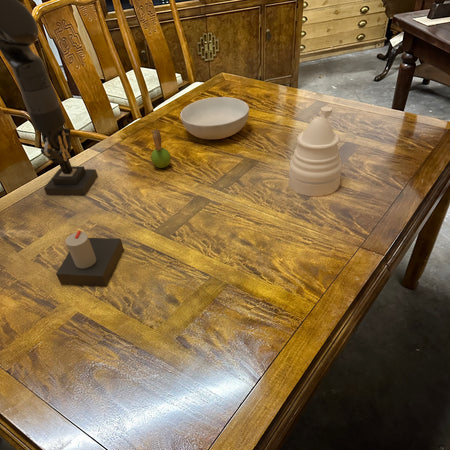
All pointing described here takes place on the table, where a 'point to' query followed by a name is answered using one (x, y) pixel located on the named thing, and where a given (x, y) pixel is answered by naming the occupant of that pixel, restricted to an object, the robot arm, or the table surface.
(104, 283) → the panel
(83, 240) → the volume knob
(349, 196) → the table surface
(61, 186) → the key block
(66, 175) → the key
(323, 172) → the honey pot
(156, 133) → the green ball with handle
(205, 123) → the serving bowl
